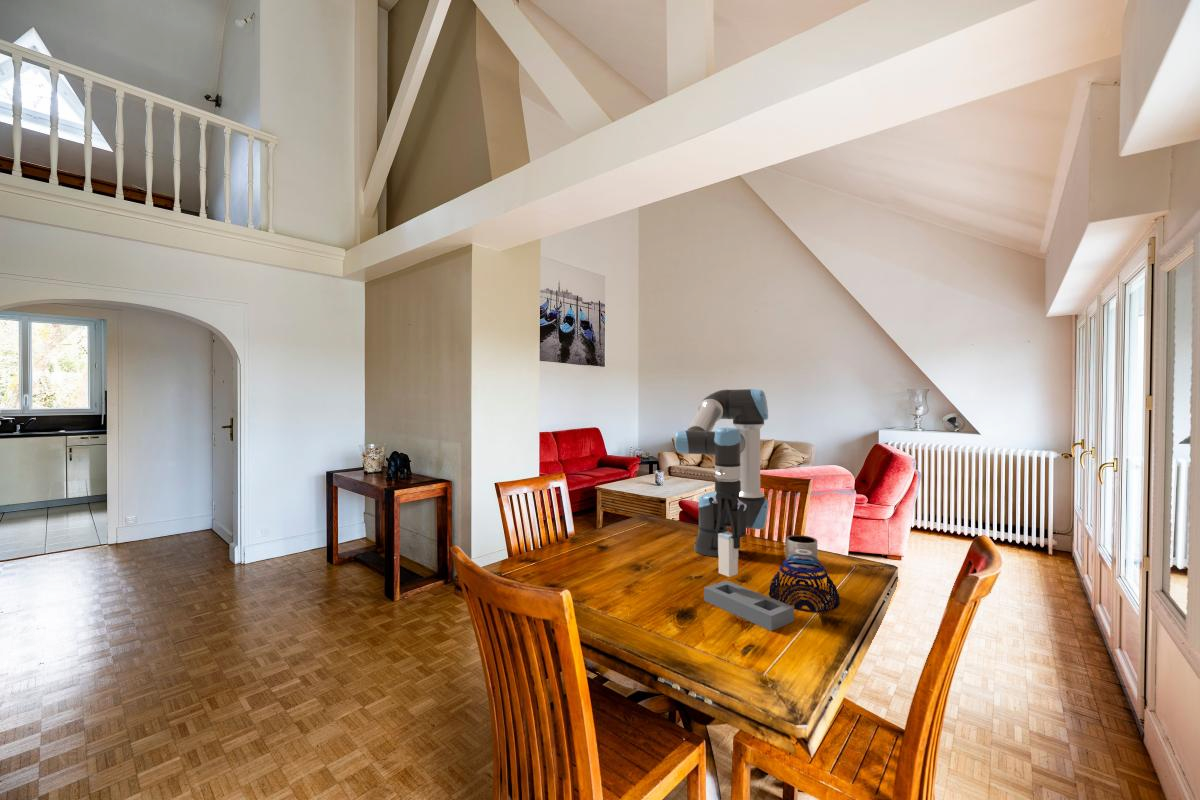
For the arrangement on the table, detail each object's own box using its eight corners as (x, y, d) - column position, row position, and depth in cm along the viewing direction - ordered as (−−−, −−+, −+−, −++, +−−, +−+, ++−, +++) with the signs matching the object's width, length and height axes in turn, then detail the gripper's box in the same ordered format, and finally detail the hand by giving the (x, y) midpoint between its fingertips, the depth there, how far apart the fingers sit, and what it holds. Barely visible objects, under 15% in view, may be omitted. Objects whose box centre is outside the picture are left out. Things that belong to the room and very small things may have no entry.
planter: (785, 567, 180) (785, 541, 180) (786, 558, 190) (786, 533, 190) (818, 571, 176) (818, 544, 176) (817, 562, 186) (817, 536, 186)
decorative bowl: (768, 606, 147) (767, 558, 147) (769, 582, 166) (769, 539, 166) (842, 616, 140) (842, 565, 140) (835, 590, 159) (835, 545, 159)
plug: (727, 570, 153) (727, 531, 153) (737, 573, 150) (737, 534, 149) (718, 572, 151) (718, 533, 150) (728, 576, 147) (728, 536, 147)
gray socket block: (726, 593, 157) (726, 580, 157) (794, 621, 137) (794, 606, 137) (704, 600, 151) (704, 587, 151) (771, 631, 131) (771, 616, 131)
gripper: (698, 476, 154) (698, 551, 155) (742, 485, 140) (742, 567, 141) (714, 474, 159) (715, 546, 159) (759, 482, 145) (759, 561, 145)
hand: (728, 556), depth 150 cm, fingers closed on plug, 4 cm apart
